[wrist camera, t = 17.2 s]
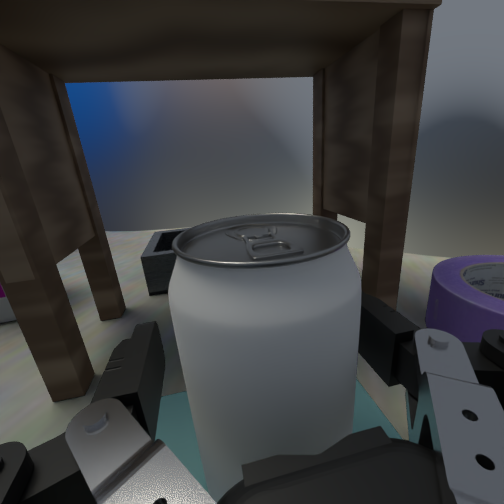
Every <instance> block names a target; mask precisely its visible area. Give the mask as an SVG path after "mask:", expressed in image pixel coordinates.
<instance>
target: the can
mask: <svg viewBox="0 0 504 504" xmlns="http://www.w3.org/2000/svg"><path fill="white" fill-rule="evenodd" d="M349 238H350V230H349V228H348V227H347V226H346V225H344V224H343V223H341V222H339V221H337V220H334V219H331V218H327V217H322V216H317V215H309V214H298V213H264V214H251V215H243V216H235V217H229V218H223V219H219V220H214V221H210V222H207V223H203V224H200V225H197V226H194V227H192V228H190V229H187V230H185V231H184V232H182V233H180V234H179V235H178V236H177V237H176V238H175V239H174V240H173V243H172V249H173V251H174V253H175V254H176V255H177V258H176V263H175V266H174V269H173V272H172V276H171V279H170V283H169V289H168V296H169V305H170V311H171V317H172V322H173V327H174V332H175V337H176V342H177V347H178V352H179V357H180V361H181V366H182V371H183V376H184V381H185V385H186V390H187V395H188V400H189V405H190V409H191V414H192V419H193V423H194V428H195V433H196V438H197V442H198V447H199V452H200V456H201V461H202V465H203V470H204V475H205V479H206V484H207V488H208V492H209V495H210V496H211V497H212V499H213V500H214V501H215V502H216V503H217V502H218V501H219V500H220V499H221V497H222V496H223V495H224V494H225V493H226V492H227V491H228V490H229V489H231V488H232V487H233V486H234V485H235V484H237V483H238V482H240V481H241V480H243V474H242V466H241V465H243V464H247V463H250V462H254V461H257V460H261V459H264V458H268V457H271V456H275V455H317V454H320V453H322V452H324V451H325V450H327V449H328V448H330V447H331V446H332V445H334V444H335V443H337V442H338V441H340V440H341V439H343V438H344V437H346V436H347V435H349V434H352V429H353V416H354V402H355V388H356V374H357V360H358V345H359V331H360V315H361V292H362V289H361V277H360V274H359V271H358V269H357V266H356V264H355V262H354V260H353V258H352V256H351V254H350V252H349V249H348V247H347V242H348V241H349Z"/></svg>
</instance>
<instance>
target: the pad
mask: <svg viewBox="0 0 504 504" xmlns="http://www.w3.org/2000/svg"><path fill="white" fill-rule="evenodd" d="M377 426H381V427H382V428H383V430H384V431H385V433H386V434H387V435H388V437H389V438H397V439H402V438H401V436H400V435H399V434H398V433H397V431H396V430H395V429H394V427H393V426H392V425H391V423H390V422H389V421H388V419H387V418H386V417H385V415H384V414H383V413H382V412H381V410H380V409H379V408H378V406H377V405H376V404H375V402H374V401H373V400H372V398H371V397H370V396H369V394H368V393H367V392H366V390H365V389H364V388H363V387H362V385H361V384H360V383H359V381H358V380H357V379H356V388H355V402H354V416H353V429H352V433H356V432H359V431H363V430H366V429H370V428H373V427H377ZM157 439H160V440H162V441H163V442H164V443H165V444H166V445H167V446H168V448H169V449H170V450H171V451H172V452H173V453H174V455H175V456H176V457H177V458H178V459H179V460H180V461H181V463H182V464H183V465H184V466H185V467H186V468H187V470H188V471H189V472H190V473H191V474H192V475H193V477H194V478H195V479H196V480H197V481H198V482H199V483H200V485H201V486H202V487H203V488H204V489H205V490H206V492H207V493H208V494H209V492H208V488H207V484H206V479H205V475H204V470H203V465H202V461H201V456H200V452H199V447H198V442H197V438H196V433H195V428H194V423H193V419H192V414H191V409H190V405H189V400H188V395H187V391H184V392H180V393H175V394H171V395H167V396H162V397H161V401H160V408H159V415H158V422H157V429H156V437H155V441H156V440H157Z"/></svg>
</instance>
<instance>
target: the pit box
mask: <svg viewBox="0 0 504 504" xmlns="http://www.w3.org/2000/svg"><path fill="white" fill-rule="evenodd" d="M187 229H190V228H184V229H176V230H167V231H159V232H155V233H154V234H153V236H152V238H151V240H150V241H149V243H148V245H147V247H146V248H145V250H144V252H143V254H142V256H141V261H142V266H143V270H144V274H145V279H146V283H147V287H148V291H149V296H151V295H157V294H163V293H168V289H169V283H170V279H171V276H172V272H173V269H174V266H175V263H176V258H177V255H176V254H175V253H174V251H173V249H172V243H173V240H174V239H175V238H176V237H177V236H178V235H179V234H180V233H182V232H184V231H185V230H187Z"/></svg>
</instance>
